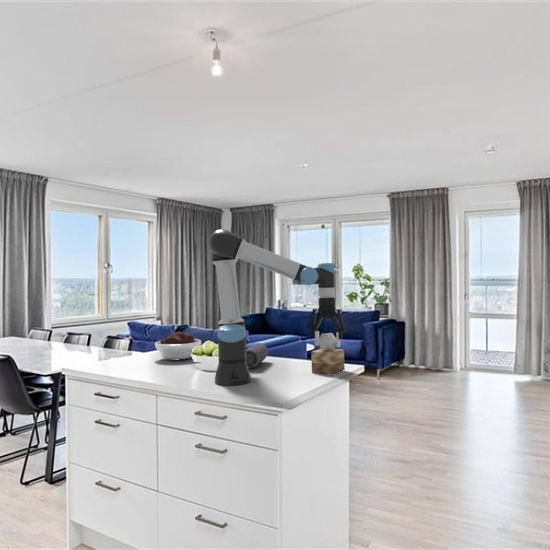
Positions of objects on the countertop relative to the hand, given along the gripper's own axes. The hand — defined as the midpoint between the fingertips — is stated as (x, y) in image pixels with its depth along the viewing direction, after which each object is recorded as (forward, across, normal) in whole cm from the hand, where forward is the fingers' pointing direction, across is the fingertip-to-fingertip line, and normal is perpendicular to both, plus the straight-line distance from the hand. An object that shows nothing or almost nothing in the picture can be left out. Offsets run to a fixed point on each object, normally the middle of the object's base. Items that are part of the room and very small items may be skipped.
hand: (327, 346), depth 221 cm
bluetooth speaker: (+12, +39, +2) cm, 41 cm away
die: (+2, 0, 0) cm, 2 cm away
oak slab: (+7, 0, 0) cm, 7 cm away
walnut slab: (+12, 0, 0) cm, 12 cm away
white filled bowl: (+12, +89, +3) cm, 90 cm away
